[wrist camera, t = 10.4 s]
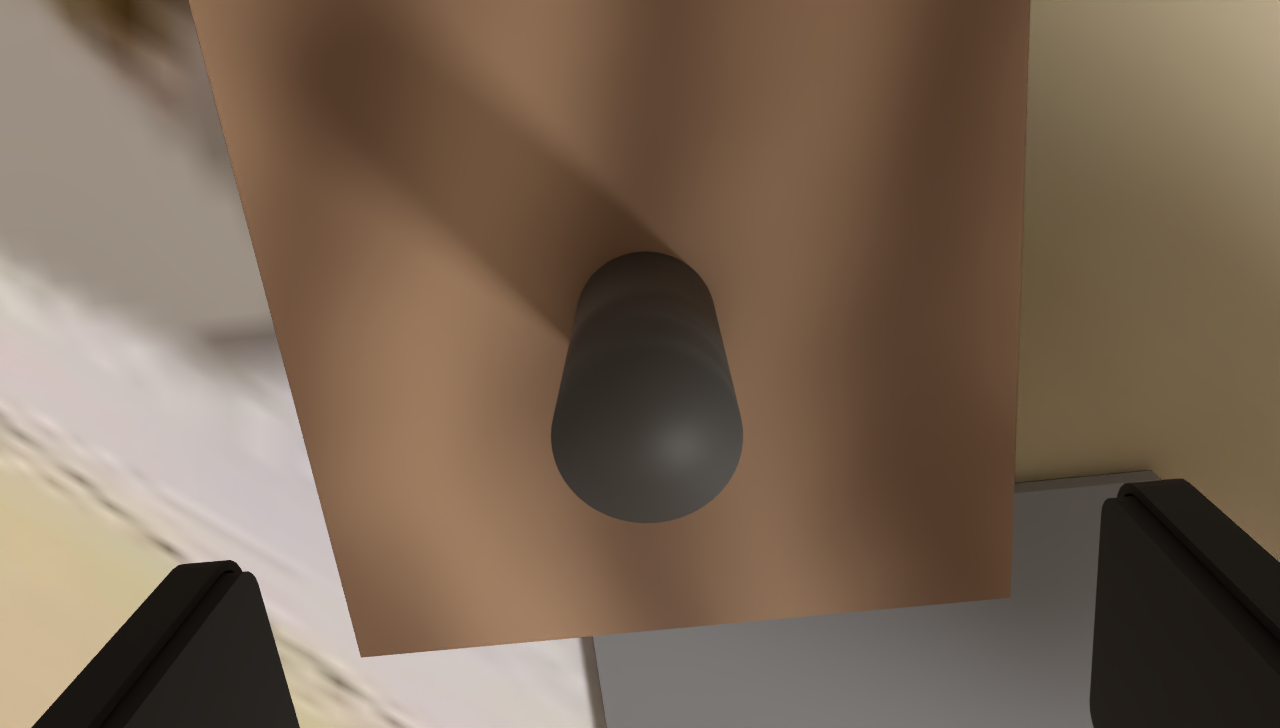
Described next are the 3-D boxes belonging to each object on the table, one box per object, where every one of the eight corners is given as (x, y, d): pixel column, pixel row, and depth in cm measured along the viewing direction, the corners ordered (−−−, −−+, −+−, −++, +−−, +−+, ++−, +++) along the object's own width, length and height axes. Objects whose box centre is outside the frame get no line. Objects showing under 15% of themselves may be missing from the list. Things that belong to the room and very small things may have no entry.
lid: (1014, -135, 18) (1225, -214, 12) (996, 574, 24) (1130, 790, 17) (202, -35, 19) (-35, -57, 12) (371, 632, 24) (272, 862, 18)
